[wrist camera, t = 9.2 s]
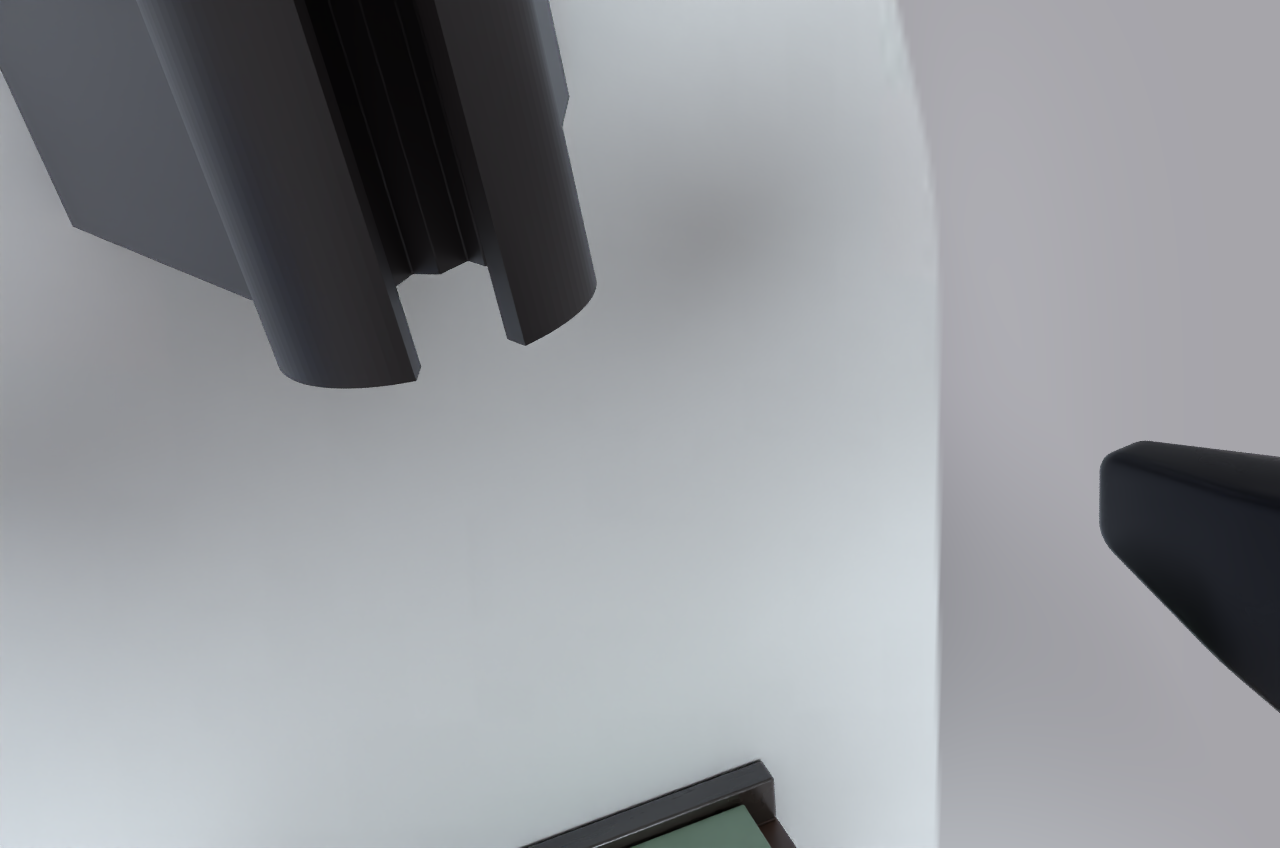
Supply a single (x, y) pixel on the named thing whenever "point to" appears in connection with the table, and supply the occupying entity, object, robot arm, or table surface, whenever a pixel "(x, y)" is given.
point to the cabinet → (685, 813)
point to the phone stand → (314, 157)
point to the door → (714, 833)
